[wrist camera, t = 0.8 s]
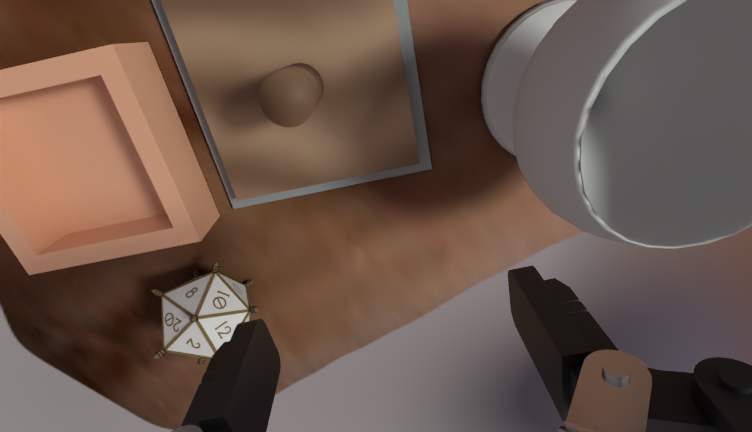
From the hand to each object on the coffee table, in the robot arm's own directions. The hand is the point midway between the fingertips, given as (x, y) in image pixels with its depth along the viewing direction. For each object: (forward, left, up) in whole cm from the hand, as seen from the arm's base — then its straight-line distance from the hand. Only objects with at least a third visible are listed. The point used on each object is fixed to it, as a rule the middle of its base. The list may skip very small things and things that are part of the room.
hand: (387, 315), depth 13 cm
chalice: (-2, +15, -21) cm, 26 cm away
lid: (-6, -4, -21) cm, 22 cm away
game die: (+11, -17, -21) cm, 29 cm away
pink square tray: (-4, -21, -21) cm, 30 cm away
